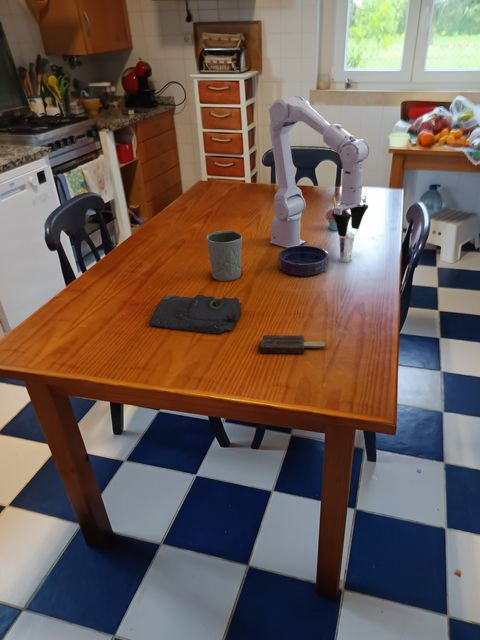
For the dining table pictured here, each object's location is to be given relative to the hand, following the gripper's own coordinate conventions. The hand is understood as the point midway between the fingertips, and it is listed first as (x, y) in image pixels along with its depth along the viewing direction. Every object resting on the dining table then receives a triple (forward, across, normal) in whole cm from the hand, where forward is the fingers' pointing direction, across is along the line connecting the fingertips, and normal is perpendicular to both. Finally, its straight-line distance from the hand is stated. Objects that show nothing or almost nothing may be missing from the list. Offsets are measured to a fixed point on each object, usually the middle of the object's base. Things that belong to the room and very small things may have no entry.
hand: (348, 232), depth 146 cm
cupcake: (+9, +23, +18) cm, 31 cm away
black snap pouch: (+9, -53, +12) cm, 55 cm away
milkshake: (+9, 0, 0) cm, 9 cm away
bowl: (+9, -12, +8) cm, 17 cm away
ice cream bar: (+9, -50, -16) cm, 53 cm away
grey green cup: (+9, -30, +23) cm, 39 cm away
